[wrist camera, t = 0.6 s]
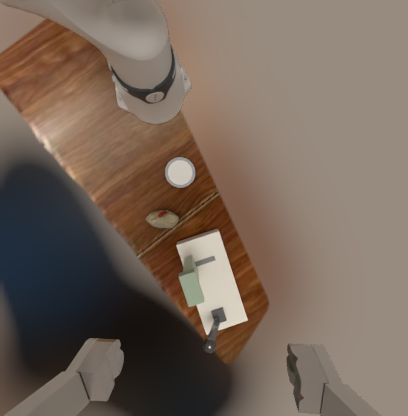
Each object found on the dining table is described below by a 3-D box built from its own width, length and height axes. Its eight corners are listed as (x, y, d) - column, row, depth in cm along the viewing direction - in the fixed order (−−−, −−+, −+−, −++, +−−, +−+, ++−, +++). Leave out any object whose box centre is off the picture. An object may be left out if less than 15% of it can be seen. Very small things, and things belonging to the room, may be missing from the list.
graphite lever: (210, 315, 51) (199, 344, 42) (221, 313, 50) (211, 343, 41) (214, 324, 51) (203, 356, 42) (224, 323, 50) (215, 355, 42)
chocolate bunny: (172, 233, 55) (168, 242, 45) (144, 221, 54) (134, 227, 44) (181, 214, 55) (179, 218, 45) (153, 202, 54) (144, 203, 44)
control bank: (177, 241, 55) (175, 246, 50) (217, 228, 56) (219, 231, 50) (205, 325, 57) (206, 337, 52) (243, 311, 57) (249, 323, 52)
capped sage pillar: (181, 256, 51) (178, 276, 38) (193, 252, 51) (194, 271, 38) (189, 279, 51) (188, 307, 39) (201, 275, 52) (204, 301, 39)
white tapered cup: (191, 159, 54) (191, 154, 47) (197, 185, 55) (198, 184, 48) (165, 165, 54) (161, 160, 47) (171, 191, 54) (168, 190, 47)
